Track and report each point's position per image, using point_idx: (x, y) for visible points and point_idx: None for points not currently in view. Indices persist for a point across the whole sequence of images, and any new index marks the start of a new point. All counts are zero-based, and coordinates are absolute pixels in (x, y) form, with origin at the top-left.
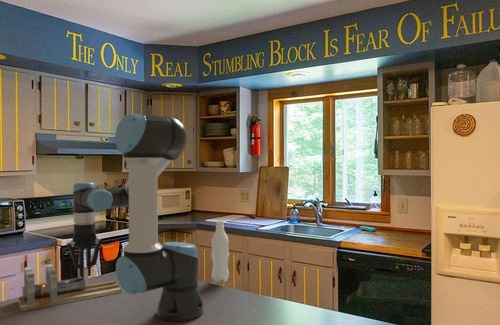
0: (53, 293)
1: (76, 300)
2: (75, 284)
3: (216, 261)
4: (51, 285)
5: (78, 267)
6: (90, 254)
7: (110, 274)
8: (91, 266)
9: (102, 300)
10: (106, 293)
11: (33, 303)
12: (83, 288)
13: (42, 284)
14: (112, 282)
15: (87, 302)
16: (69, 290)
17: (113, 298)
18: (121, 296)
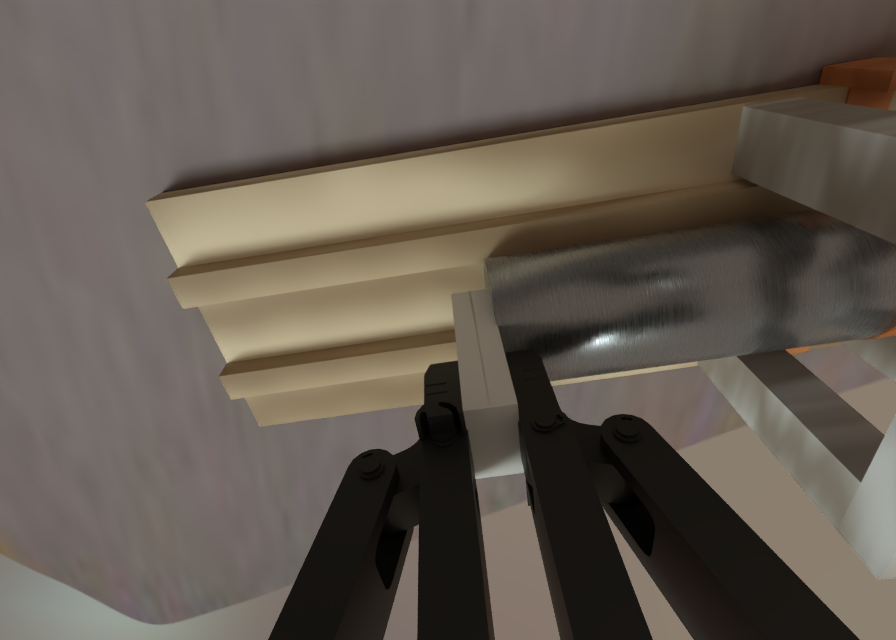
0: (837, 113)
1: (560, 127)
2: (584, 269)
3: None
4: None
5: (594, 433)
6: (426, 638)
7: (298, 569)
8: (413, 446)
9: (325, 15)
10: (290, 175)
11: None
12: (496, 258)
13: None
14: (246, 371)
15: (472, 24)
16: (626, 238)
17: (214, 28)
18: (135, 58)
